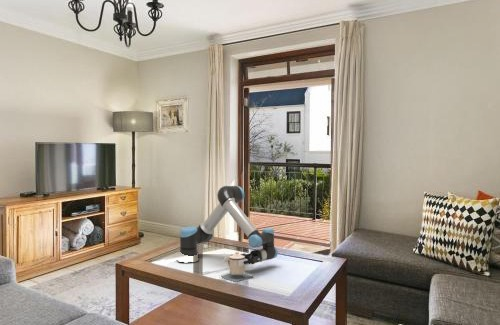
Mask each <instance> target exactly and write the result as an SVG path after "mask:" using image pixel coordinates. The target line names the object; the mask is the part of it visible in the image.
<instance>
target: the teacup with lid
mask: <svg viewBox="0 0 500 325" xmlns="http://www.w3.org/2000/svg"><path fill="white" fill-rule="evenodd" d="M241 254H242V253H240V252H239V251H236V252H234V254H231V255H232V256H231V255H230V257H229V256H228V257H229V259H228V262H227V264H228V267H229V274H230V273H231V274H234V275H240V274H245V272H246V270H245V268H246V267H245V266H246V265H242V266H238V261H241V260H245V256H243V255H241Z"/></svg>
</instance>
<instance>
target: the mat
mask: <svg viewBox="0 0 500 325" xmlns="http://www.w3.org/2000/svg"><path fill="white" fill-rule="evenodd" d="M220 276H221V277H222V278H221V279H223V278H224V279H223V280H226V281H230V282H232V281H233V283H238V282H241V281H245V280H247V279H252V278H254V276H253V275H249V274H245V273H243V274H240V275H234V274H231V273H230V272H229V273H227V274H223V275H220Z"/></svg>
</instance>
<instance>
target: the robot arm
mask: <svg viewBox="0 0 500 325" xmlns="http://www.w3.org/2000/svg"><path fill="white" fill-rule="evenodd" d="M216 194H217V200H218V204H217V206H216V207H215V208H214V209H213V210H212V212H211V213H210V214H209V215H208V217H207V218H206V219H205V221H202V222H200V224H199V225H198V226H193V225H192V226H185V227H182V228H181V229H180V234H179V238H180V240H179V252H181V253H182V254H184V255H188V256H194V255H197V253H198V254H199V252H198V249H197V248H198V245H200V244H205V243H208V242H210V241H211V240H212V239H213V237H214V232H215V228H216V227H217V226H218V224H219V223H220V222H221V221H222V220H223V218H224V217H225V216H226V215H227V213H228V214H229V215H230V216H231V217H232V219H233V220H234V221H235V223H236V224H237V225H238V227H239V228H240V229H241V230H242V232H243V233H244V234H245V235H246V237H247V238H248V240H247V241H248V245H249V246H250V248H256V249H254V250H253V249H252V250H251V251H250V252H249V253H246V252H244V253H240V254H241V255H243V256H245V260H241V261H238V266H242V265H245V266H246V265H255V264H256V263H263V262H264V261H265V262H266V261H268V260H273V259H275V258H276V257H278V254H279V251H278V248H277V247H276V246H275V229H273V228H270V227H268V228H266V227H265V228H263V229H262V231H261V232H260V231H259V230H258V229H257V228H256V226H255V225H254V224H253V223H252V221H251V220H250V219H249V218H248V217H249V216H247V215H246V214H245V212H244V211H243V210H242V209H241V207H240V206H239V205H238V203H241V202H243V201H244V199H245V191H244V190H243V188H242V187H241V186H239V185H224V186H221V187H220V188H219V190H218V191H217V193H216ZM260 247H262V248H260ZM232 255H233V254H230V256H232ZM230 256H229V255H228V256H224V257H223V263H228V259H229V257H230Z"/></svg>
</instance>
